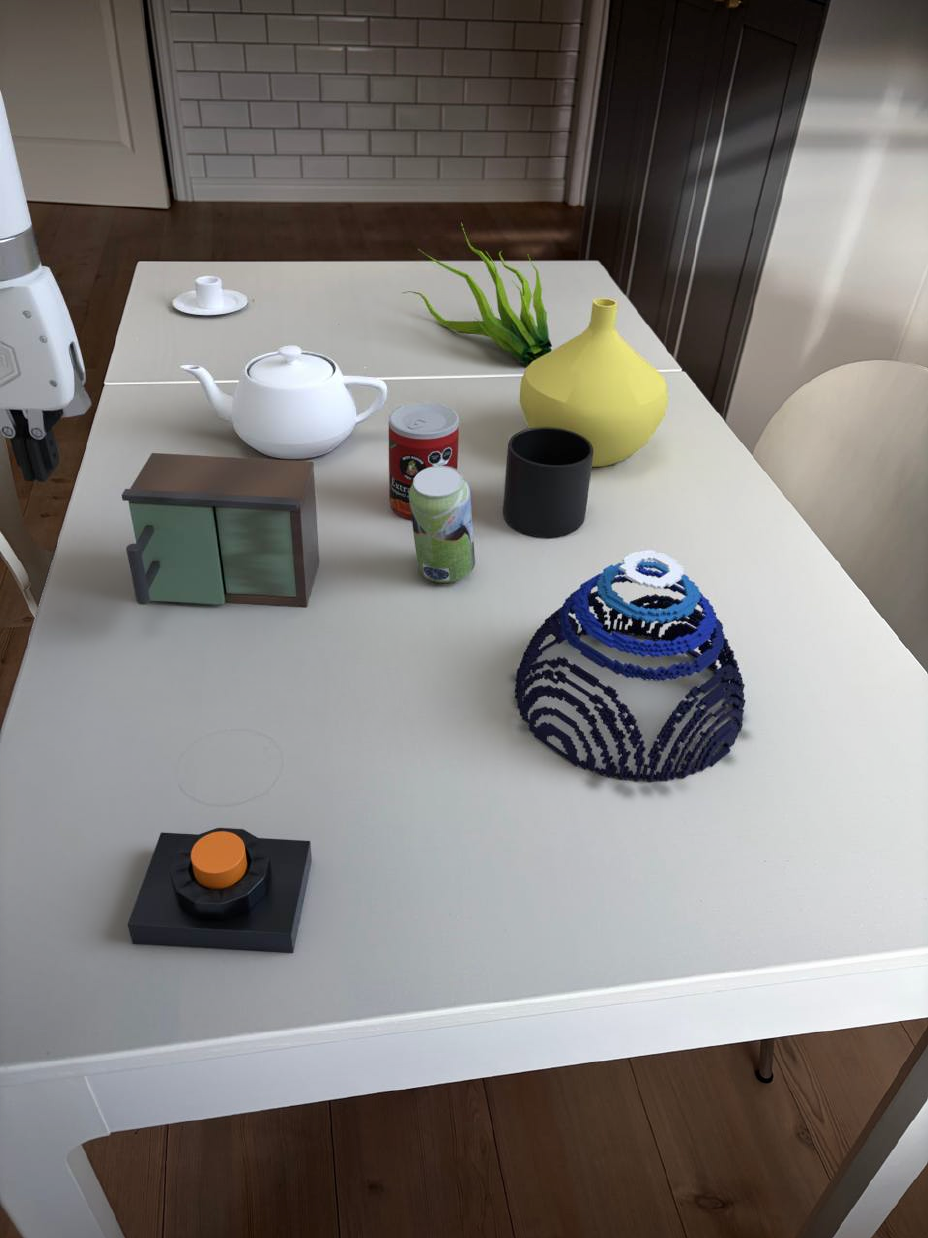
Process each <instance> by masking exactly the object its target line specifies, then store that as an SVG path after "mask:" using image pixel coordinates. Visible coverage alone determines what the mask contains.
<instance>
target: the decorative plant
mask: <svg viewBox="0 0 928 1238" xmlns="http://www.w3.org/2000/svg"><path fill="white" fill-rule="evenodd" d="M460 224H461V228H462V231H463V233H464V236H465V241H466V242H467V245H468V247H469V248H470V250H471V251H472V252H474V253H475V254H477V255H478V256H479V257H480V259H481V260H482V261H483V262H484V264H485V266H486V268H487V270H488V272H489V274H490V277H491V279H492V282H493V283H494V285H495V294H496V295H495V296H496V303H497V312H498V314H499V318H498V317H496V316H495V314H494V312H493V308H492V307H491V306H490V304H489V302H488V300H487V297H486V295H485V293H484V291H483V290H482V289H481V288H480V286H479V285H478V284H477V282H476V281H475V280H474V279H473V277H472V276H471V275H470V274H469V273H466V272H464V271H462V270H458V269H456V268H454V267H451V266H450V265H448V264H445V263H443V262H441V261H439V260H437V259H436V258H433V257H431V256H430V255H428V254H426V253H425V252H424V251H422V250H421V249H420V248H417V249H418V251H420V252H421V253H422V254H423V255H425V256H426V257H428V258H429V259H431V260H432V261H433V262H435V263H436V264H438V265H440V266H441V267H443V268H444V269H446V270H448V271H450V272H451V273H454V274H456V275H458V276H460V277H462V278H463V279H465V281H466V283H467V285H468V287H469V289H470V291H471V293H472V295H473V297H474V299H475V301H476V304H477V308H478V310H479V313H480V315H481V318H482V320H479V319H478V318H477V317H474V319H475V320H469V321H468V320H465V321H463V320H461V321H460V320H459V321H458V320H446V319H444V318H443V317H442V316H441V315H440V314H439V313H438V312H437V311H436V310H435V309H434V307H433V306H432V305H431V303H430V301H429V300H428V298H427V297H425V296H424V295H423V294H422V293H421V292H417V291H416V292H415V291H411V290H407V291H403V292H402V294H407V293H412V294H415V295H419V296H420V298H422V299H423V301H424V303H425V305H426V307H427V309H428V311H429V314H431V315H432V316H433V317H434V319H435V320H436V321H437V322H438V323H439V324H440V325H441V326H443V327H445V328H448V329H449V330H453V331H455V332H457V333H459V334H467V335H468V334H469V335H481V336H486V337H488V338H491V339H492V340H493V341H494V342H496V344H497V345H498V346H500V348H502V349H503V350H505V351H506V352H508V353H510V354H511V355H513V357H515V358H516V359H517V360H518V362H520V363H521V364H525V366H527V367H528V366H529V365H530V364H531V363H532V362H533V361H534V360H536V359H538V358H540V357H542V356H543V355H545V354H547V353H549V352H551V351H553V349H552V347H553V345H552V342H551V340H550V335H549V327H548V322H547V319H548V318H547V317H548V315H547V311H546V309H545V306H544V303H543V299H542V294H543V293H542V292H543V287H542V284H541V278H540V274H539V273H540V272H539V270H538V269H537V268H536V266H535V265H534V264H533V262H532V260H531V258H530V256H529V255H527V257H528V260H529V262H530V264H531V265H532V267H533V268H534V270H535V287H534V291H533V293H532V292H531V287H530V285H529V281H528V280H527V279H526V278H525V277H524V276H523V274H522V273H521V272H520V271H519V270H518V269H516V268H514V267H511V266H509V265H507V263H506V262H505V261H504V258H503V257H502V255H501V253H502V251H500V252H499V253H498V256H499V258H500V261H501V263H502V265H503V268H506V269H507V270H509V271H510V272H512V273H513V274H515V275H516V277H517V278H518V280H519V281H520V284H521V288H520V287H519V286H518V285H517V284H516V283H515V282H514V281H512V283H513V284H514V285H515V287H516V288H517V289H518V291H519V294H520V295H519V296H520V301H521V304H520V305H521V306H520V313H519V315H520V317H518V315H517V314H516V313H515V311H514V310H513V309H512V307H511V306H510V303H509V299H508V296H507V293H506V289H505V286H504V282H503V279H502V278H501V276H500V275H499V273H498V269H497V266H496V264H495V262H494V260H493V259H492V257H491V256H490V255H489V253H488V251H485V253H486V254H487V255H488V257H487V256H486V255H485V254H484V253H483V251H482V250H478V249H476V248H475V247H473V246H472V245H471V244H470V242H469V239H468V237H467V235H466V232H465V229H464V225H463V223H462V222H460ZM531 303H532V307H533V309H534V311H535V318H534V316H533V315H532V313H531V311H530V306H531ZM535 320H536V321H535Z"/></svg>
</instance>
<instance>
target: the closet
mask: <svg viewBox="0 0 928 1238" xmlns="http://www.w3.org/2000/svg"><path fill="white" fill-rule="evenodd" d="M314 463H315V462H314V461H309V460H308V461H307V460H305V461H304V460H292V459H271V458H269V459H268V458H251V457H235V456H234V457H233V456H216V455H199V454H198V455H197V454H182V453H181V454H178V453H164V452H163V453H162V452H151V454H150V455H149V457H148V459H147V460H146V462H145V463H144V465H143V467H142V468H141V470H140V472H138V475H137V476H136V478H135V479H134V481H133V483H132V485H131V486H130V488H125V489H124V490H123V491H122V494H121V500H122V501H123V502H128V503H129V502H130V501H141V502H159V503H177V504H195V505H212V506H213V513H214V521H215V528H216V536H217V543H218V551H219V559H220V566H221V574H222V581H223V589H224V597H225V603H226V604H227V603H228V604H245V605H260V606H261V605H264V606H266V605H267V606H281V607H282V606H283V607H300V608H307V607H308V604H309V600H310V597H311V593H312V590H313V587H314V583H315V579H316V576H317V573H318V568H319V564H320V549H319V548H320V547H319V533H318V532H319V531H318V515H317V500H316V482H315V480H316V479H315V464H314ZM225 603H224V604H225Z"/></svg>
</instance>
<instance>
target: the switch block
mask: <svg viewBox="0 0 928 1238" xmlns="http://www.w3.org/2000/svg"><path fill="white" fill-rule="evenodd" d="M220 831H225V832H230V833H233V834H235V835H237V836H238V837H239V838H241V840H242V841H243V843H244V846H245V852H246V859H247V869H246V872H245V874H244V875H243V877H242V878H241V879H240V880H239V881H238V882H237V883H235V884H233V885H232V886H229V887H226V888H222V889H211V888H207V887H204V886H203V885H201V884H200V883H199V882H198V881H197V880H196V878H195V876H194V871H193V866H192V861H191V851H192V849H193V847H194V845H195V844H196V842H197V841H198V840H200V839H201V838H202V837H204V836H206V835H208V834H210V833H213V832H220ZM312 861H313V856H312V845H311V841H310V840H301V839H285V838H266V837H257V836H256V835H255V834H252V833H251V832H249V831H247V830H245V829H244V828H231V827H216V828H213V829H210V830H207V831H205V832H202V833H198V834H196V833H180V832H178V833H177V832H164V831H163V832H162V831H161V832H160V833H159V836H158V840H157V842H156V845H155V848H154V850H153V853H152V856H151V858H150V861H149V864H148V867H147V869H146V872H145V875H144V878H143V881H142V883H141V886H140V889H139V892H138V894H137V897H136V900H135V903H134V905H133V908H132V910H131V913H130V917H129V920H128V922H127V930H128V932H129V936H130V940H131V942H132V943H131V944H132V945H140V946H141V945H144V946H159V947H160V946H161V947H175V948H177V947H178V948H194V949H196V948H197V949H211V950H212V949H213V950H229V951H246V952H247V951H248V952H264V953H278V954H279V953H280V954H293V953H294V950H295V945H296V940H297V936H298V931H299V927H300V926H299V925H300V922H301V916H302V913H303V912H302V911H303V906H304V901H305V897H306V891H307V886H308V881H309V876H310V872H311V866H312Z"/></svg>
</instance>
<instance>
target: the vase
mask: <svg viewBox="0 0 928 1238" xmlns="http://www.w3.org/2000/svg"><path fill="white" fill-rule="evenodd" d="M618 305H619V303H618V301H617V300H615V299H612V298H607V297H598V298H595V299H593V300H592V304H591V312H590V321H589V325H588V326H587V327H586V328H585V329H584V330H583V331H582V332H581V333H579V334H577V335H576V336H575V337H573V338H571V339H570V340H568V341H567V342H564V343H563V344H562V345H560V346H558V347H556V348H554V349H552V351H551V352H549V353H547V354H545V355H543V356H542V357H540V358H538V359H536V360H534V361H533V362H532V363H531V364H530V365H529V366H528V365H527V367H526V369H525V370H524V373H523V374H522V376H521V380H520V386H519V400H518V401H519V404H520V407H521V411H522V414H523V416H524V419H525V422H526V425H527V427H528V429H530V428H536V427H552V428H560V429H565V430H569V431H572V432H575V433H577V434H579V435H581V436H583V437H585V438H586V439H587V440H588V441H589V442H590V443H591V444H592V446H593V451H594V453H593V460H592V468H599V467H606V466H611V465H614V464H617V463H620V462H621V461H625V460H627V459H629V458H630V457H632V456H633V455H634V454H636V453H637V452H638V451H640V449H642V448H643V447H644V446H645V445H646V444H648V443H649V441H650V440H651V438H653V436H654V434H655V433H656V431H657V429H658V428H659V426H660V425H661V423H662V422H663V420H664V418H665V417H666V413H667V408H668V403H669V392H668V391H669V390H668V386H667V382H666V379H665V377H664V376H663V375H662V373H661V372H660V371H659V370H658V369H656V368H655V367H654V366H653V365H652V364H651V363H649V362H648V360H646V359H645V358H644V357H643V356H641V355H640V354H639V353H638V352H637V351H636V350H635V349H634V348H633V347H632V346H631V345H630V344H629V343H628V342H627V341H626V340H625V339H623V338H622V337H621V335H620V333H619V332H618V330H617V329H616V319H617V312H618Z"/></svg>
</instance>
